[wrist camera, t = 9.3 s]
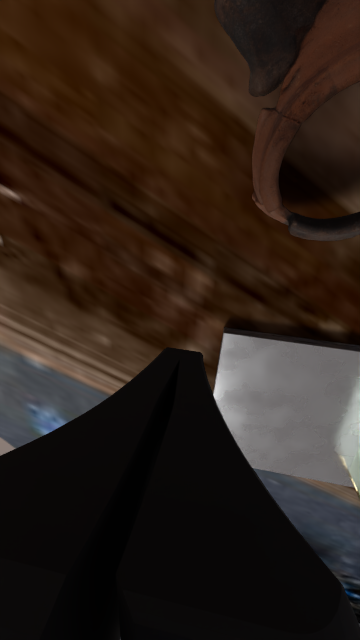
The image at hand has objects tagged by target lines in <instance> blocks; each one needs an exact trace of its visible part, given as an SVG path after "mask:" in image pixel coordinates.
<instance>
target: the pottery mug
mask: <svg viewBox="0 0 360 640" xmlns="http://www.w3.org/2000/svg"><path fill="white" fill-rule="evenodd" d="M214 5H215V12H216V15H217V18H218V20H219V22H220V24H221V25H222V27H223V28H224V30H225V31H226V33H227V34H228V35H229V36H230V37H231V39H232V41H233V42H234V44H235V45H236V47H237V49H238V50H239V51H240V53H241V54H242V55H243V57H244V58H245V60H246V61H247V63H248V65H249V67H250V71H251V74H250V81H249V93H250V94H251V95H252V96H255V97H257V96H265V95H267V94H269V93H271V92H272V91H273V90H275V89H276V88H277V87H278V86H279V84H280V83H281V82H282V81H283V85H282V87H281V91H280V98H279V101H278V103H277V106H276V107H275V108H263V109H262V110H261V112H260V115H259V118H258V124H257V128H256V134H255V142H254V147H253V153H252V163H253V164H252V167H253V168H252V169H253V185H254V190H255V191H254V192H253V195H252V199H253V200H254V201H255V203H256V205H257V206H258V207H259V208H260V209H261V210H262V211H263V212H264V213H266V214H267V215H268V216H270V217H272V218H274V219H275V220H278V221H280V222H281V223H284V224H287V225H289V226H288V229H289V232H290V234H291V235H293V236H296V237H300V238H303V239H308V240H319V241H333V240H335V241H337V240H342V239H347V238H352V237H355V236H356V235H359V234H360V212H357V213H354V214H350V215H347V216H343V217H338V218H331V219H314V218H309V217H305V216H302V215H299V214H297V213H293V212H291V211H289V210H288V209H287V208H286V207H285V206H284V205H283V204H282V197H281V194H280V189H279V180H278V179H279V170H280V166H281V163H282V160H283V157H284V154H285V152H286V150H287V148H288V146H289V144H290V142H291V141H292V139H293V137H294V136H295V134H296V132H297V131H298V129H299V128H300V126H301V124H302V122H303V121H305V120H306V119H307V118H308V117H309V116H310V115H311V114H312V113H313V112H314V111H315V110H316V109H317V108H319V107H320V106H321V105H322V104H323V103H325V102H326V101H327V100H329V99H330V98H332V97H333V96H334V95H336V94H337V93H339V92H340V91H342V90H343V89H345V88H347V87H349V86H351V85H353V84H355V83H357V82H359V81H360V0H215V3H214Z"/></svg>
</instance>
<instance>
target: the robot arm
mask: <svg viewBox="0 0 360 640" xmlns="http://www.w3.org/2000/svg"><path fill="white" fill-rule="evenodd" d="M120 636H121V640H360V625H359V623H358V621H357V618H356V616H355V613H354V611H353V609H352V606H351V604H350V601H349V599H348V597H347V594H346V592H345V590H344V587H343V585H342V584H341V583H340V581H339V580H338V579H337V578H336V577H335V576H334V574H333V573H332V572H331V571H330V570H329V568H328V567H327V566H326V565H325V564H324V562H323V561H322V560H321V559H320V558H319V556H318V555H317V554H316V553H315V552H314V550H313V549H312V548H311V547H310V545H309V544H308V543H307V542H306V540H305V539H304V538H303V537H302V535H301V534H300V533H299V532H298V530H297V529H296V528H295V527H294V525H293V524H292V523H291V521H290V520H289V519H288V517H287V516H286V515H285V513H284V512H283V511H282V509H281V508H280V507H279V505H278V504H277V503H276V501H275V500H274V499H273V497H272V496H271V495H270V493H269V492H268V490H267V489H266V487H265V486H264V484H263V483H262V481H261V480H260V478H259V477H258V475H257V474H256V472H255V471H254V470H253V468H252V467H251V465H250V464H249V462H248V461H247V459H246V458H245V456H244V454H243V453H242V451H241V449H240V448H239V446H238V444H237V443H236V441H235V439H234V437H233V435H232V434H231V432H230V430H229V428H228V426H227V424H226V422H225V420H224V418H223V416H222V414H221V412H220V410H219V407H218V405H217V403H216V401H215V398H214V396H213V393H212V390H211V387H210V385H209V382H208V379H207V375H206V372H205V368H204V362H203V355H202V353H201V352H196V351H189V350H182V349H175V348H168V347H167V348H166V349H164V350H163V351H162V352H161V353H160V354H159V355H158V356H157V357H156V358H155V359H154V360H153V361H152V362H151V363H150V364H149V365H148V366H147V367H146V368H145V369H144V370H142V371H141V372H140V373H139V374H138V375H137V376H136V377H134V378H133V379H132V380H131V381H130V382H128V383H127V384H126V385H124V386H123V387H122V388H121V389H119V390H118V391H117V392H115V393H114V394H113V395H111V396H110V397H109V398H107V399H106V400H104V401H103V402H101V403H100V404H98V405H97V406H95V407H94V408H92V409H91V410H89V411H87V412H86V413H84V414H82V415H81V416H79V417H77V418H75V419H74V420H72V421H70V422H68V423H66V424H65V425H63V426H61V427H59V428H57V429H55V430H54V431H52V432H50V433H48V434H46V435H44V436H42V437H40V438H38V439H36V440H34V441H32V442H30V443H27V444H25V445H23V446H21V447H19V448H16V449H14V450H12V451H10V452H8V453H6V454H3V455H1V456H0V640H120Z"/></svg>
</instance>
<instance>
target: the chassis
mask: <svg viewBox="0 0 360 640" xmlns="http://www.w3.org/2000/svg"><path fill="white" fill-rule="evenodd" d="M213 396H214V398H215V401H216V403H217V405H218V407H219V410H220V412H221V414H222V416H223V418H224V420H225V422H226V424H227V426H228V428H229V430H230V432H231V434H232V435H233V437H234V439H235V441H236V443H237V444H238V446H239V448H240V449H241V451H242V453H243V454H244V456H245V458H246V459H247V461H248V462H249V464H250V465H251V467H252V468H256V469H262V470H267V471H272V472H277V473H282V474H287V475H293V476H298V477H303V478H308V479H313V480H318V481H324V482H329V483H334V484H339V485H344V486H349V487H354V488H355V490H356V492H357V495H358V497H359V499H360V494H359V492H358V489H357V487H356V485H355V483H354V481H353V479H352V476H351V474H350V472H349V469H350V467H351V464H352V462H353V460H354V457H355V455H356V453H357V451H358V448H359V446H360V346H359V345H351V344H344V343H337V342H329V341H322V340H315V339H307V338H300V337H292V336H285V335H278V334H270V333H263V332H255V331H248V330H241V329H233V328H226V327H224V330H223V336H222V342H221V348H220V354H219V360H218V366H217V372H216V378H215V384H214V390H213Z"/></svg>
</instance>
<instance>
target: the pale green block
mask: <svg viewBox="0 0 360 640" xmlns="http://www.w3.org/2000/svg"><path fill="white" fill-rule="evenodd" d="M349 472H350V474H351V476H352V479H353V481H354V483H355V485H356V487H357V489H358V492H359V494H360V446H359V448H358V451H357V453H356V455H355V457H354V460H353V462H352V464H351V467H350V469H349Z"/></svg>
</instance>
